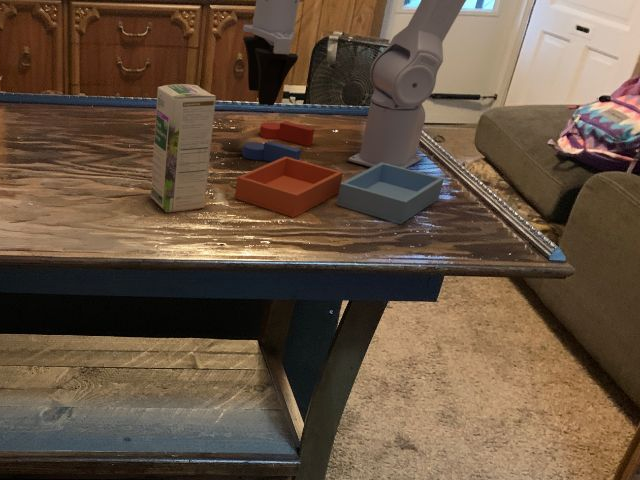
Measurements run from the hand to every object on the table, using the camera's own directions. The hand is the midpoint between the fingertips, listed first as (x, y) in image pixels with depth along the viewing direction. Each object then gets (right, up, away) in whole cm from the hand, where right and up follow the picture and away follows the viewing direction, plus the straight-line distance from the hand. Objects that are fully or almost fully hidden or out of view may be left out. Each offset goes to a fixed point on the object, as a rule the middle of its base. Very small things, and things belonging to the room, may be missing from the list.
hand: (260, 97), depth 109 cm
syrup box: (-13, -18, -9) cm, 23 cm away
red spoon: (+7, -1, +16) cm, 17 cm away
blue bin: (+16, -17, -6) cm, 24 cm away
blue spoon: (+2, -7, +7) cm, 10 cm away
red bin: (+3, -16, -5) cm, 17 cm away
